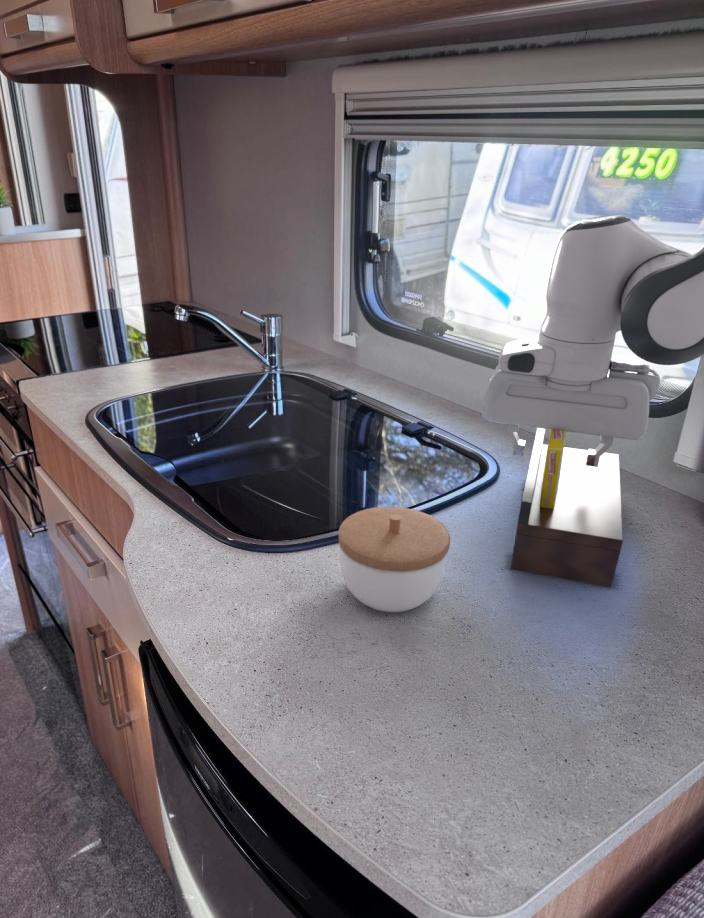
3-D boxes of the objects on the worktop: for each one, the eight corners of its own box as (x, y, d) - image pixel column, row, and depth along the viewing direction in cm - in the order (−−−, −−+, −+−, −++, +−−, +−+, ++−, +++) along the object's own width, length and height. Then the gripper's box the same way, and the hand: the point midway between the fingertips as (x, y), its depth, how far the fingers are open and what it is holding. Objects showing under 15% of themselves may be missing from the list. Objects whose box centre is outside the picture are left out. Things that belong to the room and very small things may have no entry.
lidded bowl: (413, 644, 79) (421, 559, 73) (316, 606, 85) (317, 525, 79) (459, 589, 88) (469, 510, 83) (369, 558, 94) (373, 482, 89)
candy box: (545, 457, 104) (555, 402, 100) (561, 459, 104) (571, 404, 100) (536, 507, 91) (547, 446, 87) (554, 510, 90) (565, 449, 86)
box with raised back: (608, 499, 109) (623, 435, 104) (610, 593, 88) (628, 518, 83) (527, 487, 113) (537, 424, 108) (509, 574, 91) (521, 501, 86)
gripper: (661, 359, 89) (637, 461, 95) (493, 342, 95) (481, 440, 101) (665, 374, 84) (639, 481, 90) (487, 355, 89) (474, 457, 96)
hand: (554, 459), depth 96 cm, fingers open, 8 cm apart
